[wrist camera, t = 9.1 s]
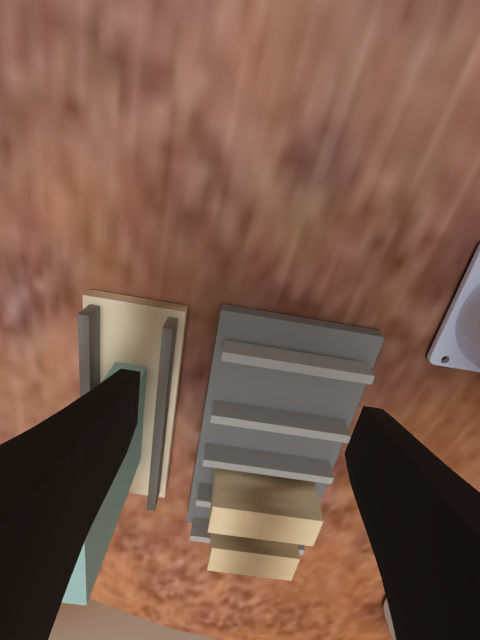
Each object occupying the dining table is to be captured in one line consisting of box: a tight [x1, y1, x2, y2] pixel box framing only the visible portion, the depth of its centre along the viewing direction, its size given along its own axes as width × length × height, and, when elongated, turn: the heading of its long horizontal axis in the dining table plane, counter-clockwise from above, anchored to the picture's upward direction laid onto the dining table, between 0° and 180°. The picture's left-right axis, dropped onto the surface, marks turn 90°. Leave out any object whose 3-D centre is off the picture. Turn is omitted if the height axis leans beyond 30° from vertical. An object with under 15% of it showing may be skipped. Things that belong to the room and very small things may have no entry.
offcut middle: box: [208, 468, 323, 546], centre depth 23 cm, size 7×2×4 cm, turn 80°
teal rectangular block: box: [62, 362, 147, 605], centre depth 18 cm, size 8×2×9 cm, turn 170°
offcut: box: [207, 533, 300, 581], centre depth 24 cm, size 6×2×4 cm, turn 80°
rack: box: [186, 304, 385, 555], centre depth 23 cm, size 10×19×2 cm, turn 170°
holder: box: [78, 289, 188, 511], centre depth 22 cm, size 6×16×2 cm, turn 170°
